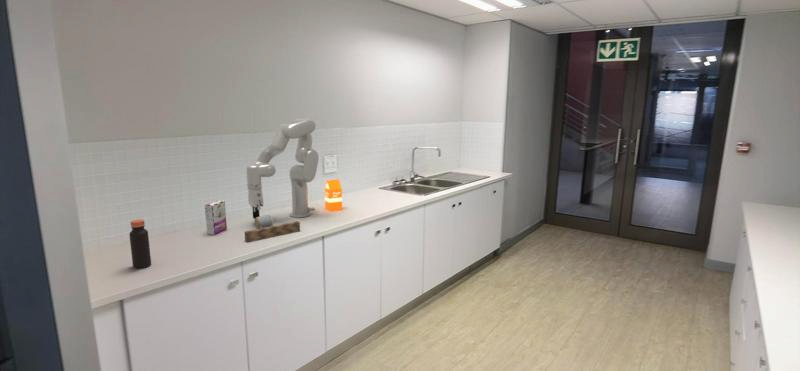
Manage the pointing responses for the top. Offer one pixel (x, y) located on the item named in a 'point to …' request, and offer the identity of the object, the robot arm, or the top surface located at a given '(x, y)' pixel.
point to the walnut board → (271, 231)
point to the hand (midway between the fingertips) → (256, 218)
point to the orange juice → (333, 195)
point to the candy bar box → (215, 217)
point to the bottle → (139, 245)
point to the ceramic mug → (263, 221)
